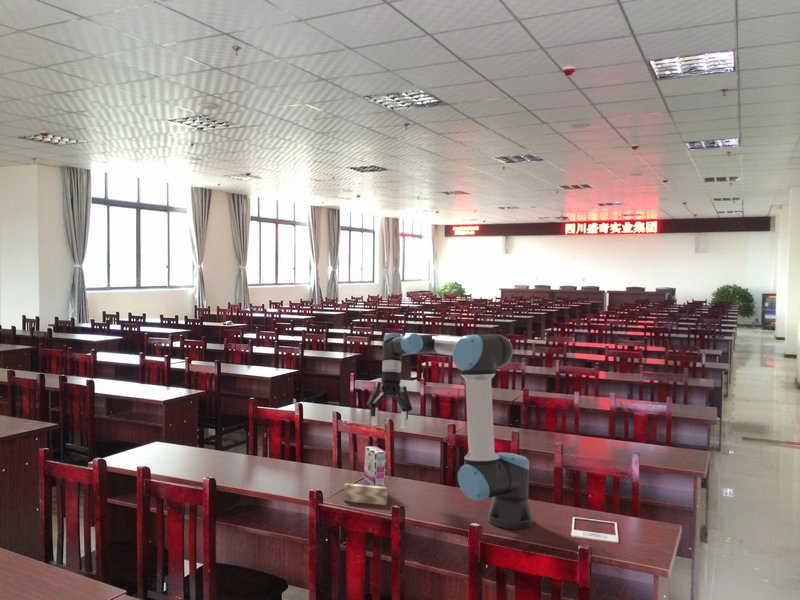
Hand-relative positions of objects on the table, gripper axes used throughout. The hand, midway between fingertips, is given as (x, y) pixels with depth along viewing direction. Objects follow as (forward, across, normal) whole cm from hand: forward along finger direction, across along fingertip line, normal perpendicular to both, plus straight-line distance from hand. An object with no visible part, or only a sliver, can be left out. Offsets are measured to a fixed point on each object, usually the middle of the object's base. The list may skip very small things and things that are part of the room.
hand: (388, 427), depth 244 cm
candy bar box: (+24, -3, -12) cm, 27 cm away
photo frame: (+34, -45, +59) cm, 82 cm away
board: (+28, +7, -3) cm, 29 cm away
